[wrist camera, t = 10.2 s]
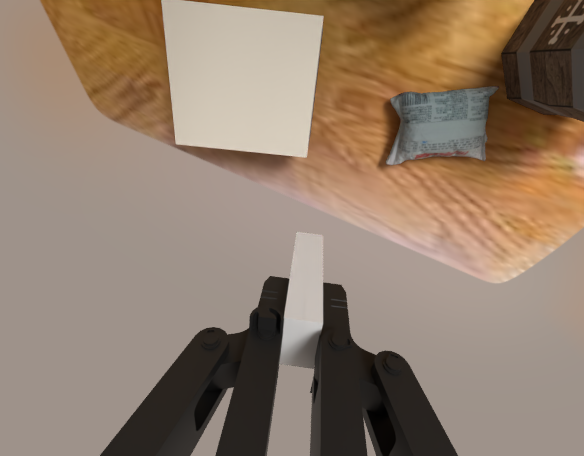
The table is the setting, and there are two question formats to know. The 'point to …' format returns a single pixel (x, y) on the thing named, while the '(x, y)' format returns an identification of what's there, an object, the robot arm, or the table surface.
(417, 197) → the table surface
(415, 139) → the packaged food
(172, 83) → the lid
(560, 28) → the mug
